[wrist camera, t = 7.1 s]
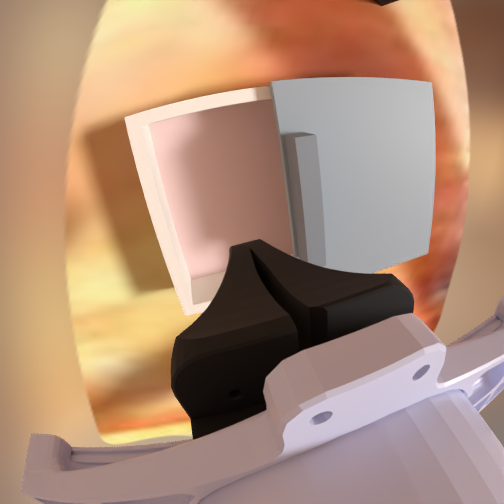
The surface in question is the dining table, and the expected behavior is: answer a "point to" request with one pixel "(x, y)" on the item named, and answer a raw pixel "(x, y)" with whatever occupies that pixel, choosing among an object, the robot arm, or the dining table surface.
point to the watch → (385, 2)
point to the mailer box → (210, 184)
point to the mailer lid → (357, 169)
